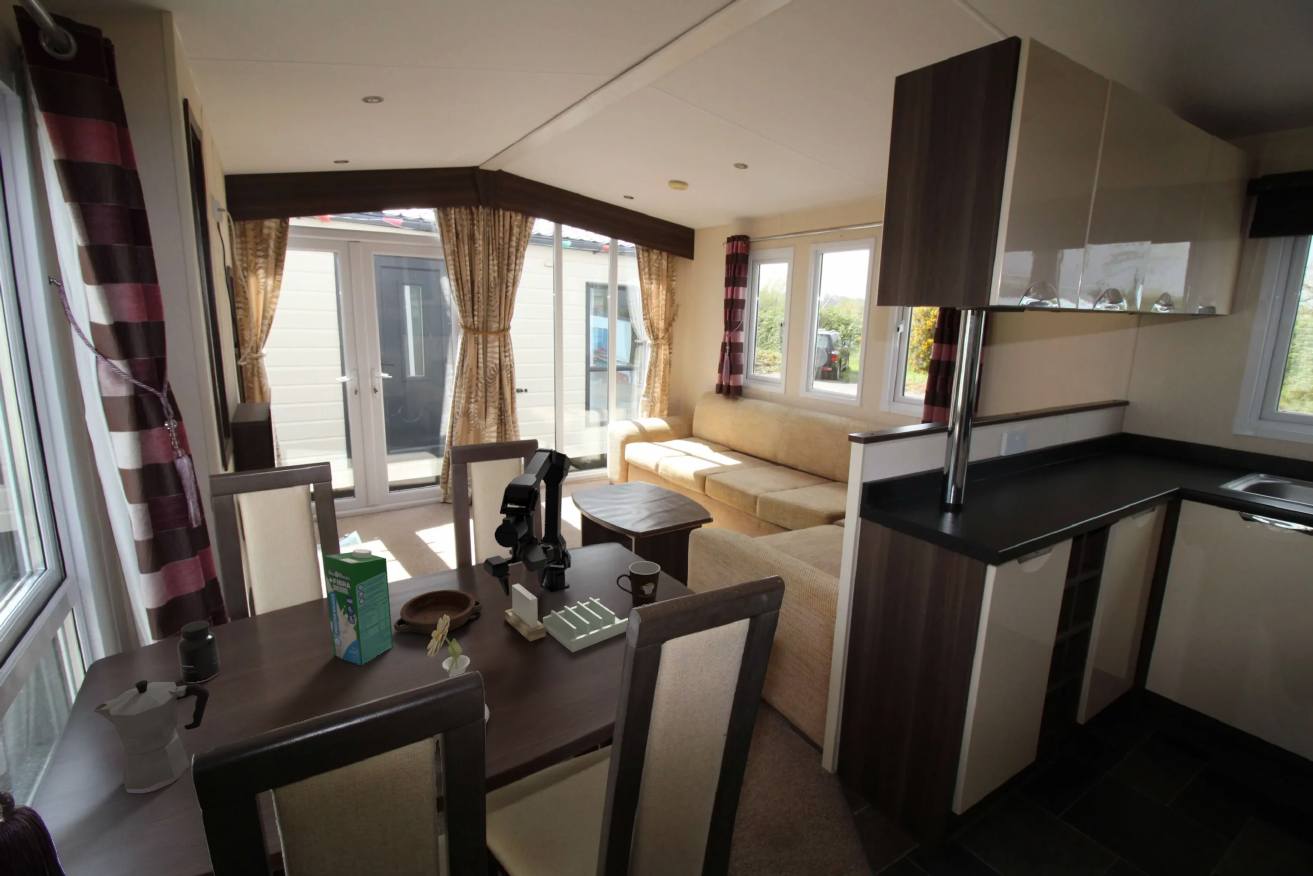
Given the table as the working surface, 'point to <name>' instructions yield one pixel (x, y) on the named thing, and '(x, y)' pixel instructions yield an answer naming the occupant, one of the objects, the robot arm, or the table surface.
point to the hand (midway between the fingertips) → (524, 590)
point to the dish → (436, 611)
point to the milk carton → (358, 605)
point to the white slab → (524, 606)
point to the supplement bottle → (198, 652)
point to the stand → (525, 627)
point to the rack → (583, 624)
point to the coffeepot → (152, 730)
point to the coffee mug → (642, 582)
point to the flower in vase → (450, 652)
